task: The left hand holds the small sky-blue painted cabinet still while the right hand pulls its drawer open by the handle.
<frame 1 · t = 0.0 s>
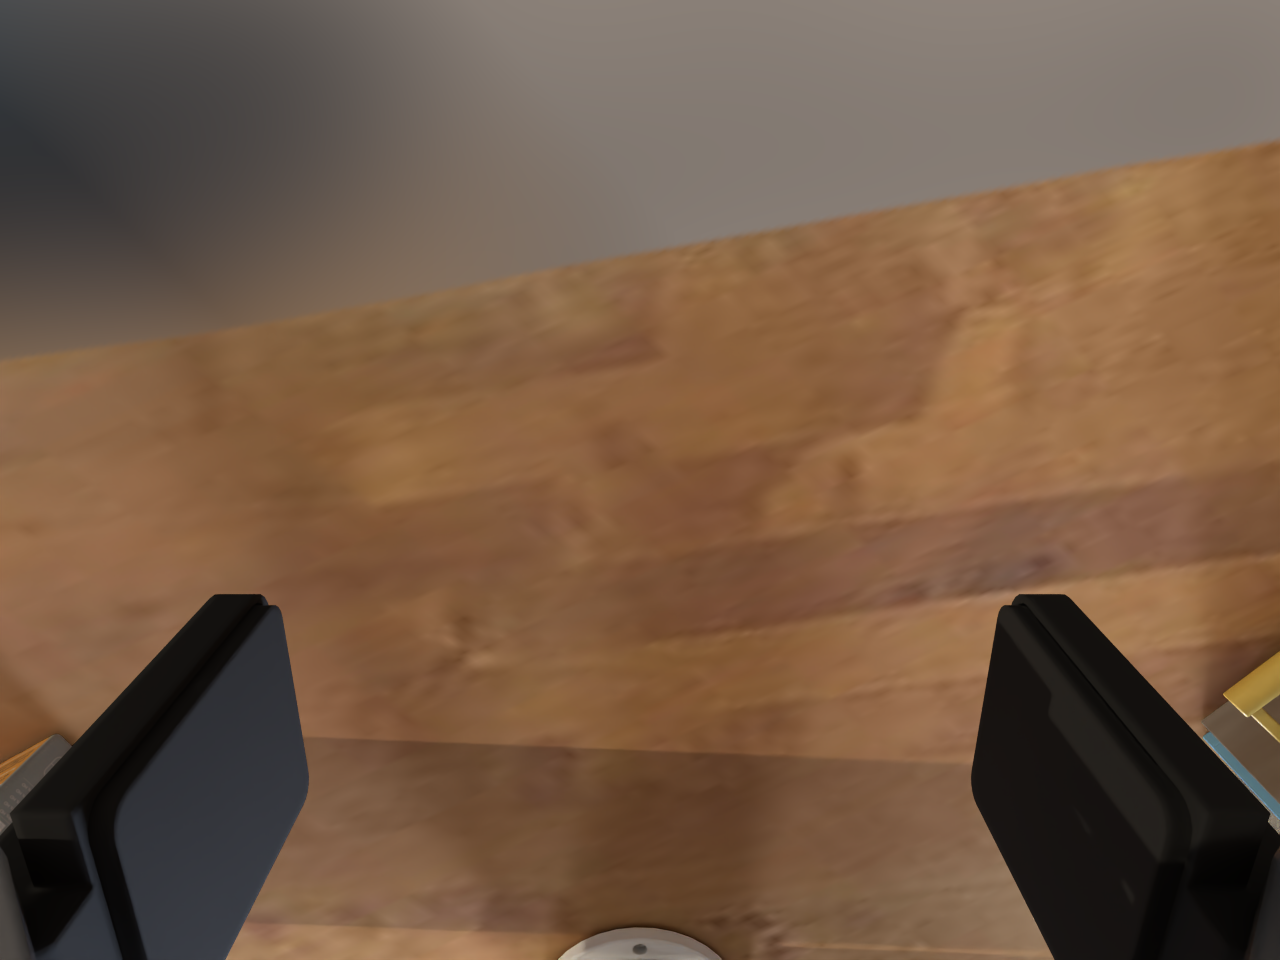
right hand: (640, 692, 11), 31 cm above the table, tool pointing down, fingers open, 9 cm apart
hard drive box: (10, 825, 52), on the table
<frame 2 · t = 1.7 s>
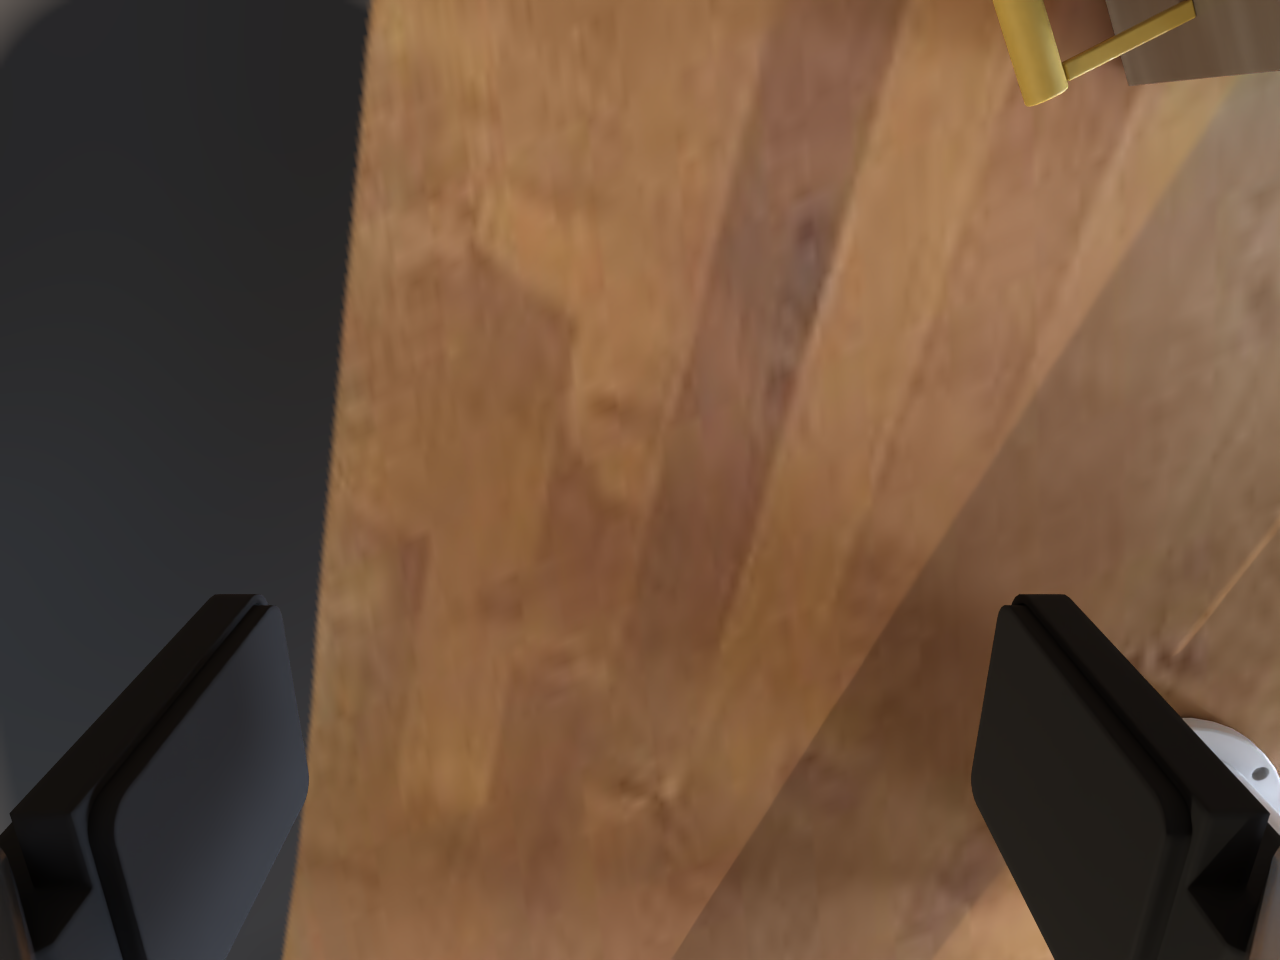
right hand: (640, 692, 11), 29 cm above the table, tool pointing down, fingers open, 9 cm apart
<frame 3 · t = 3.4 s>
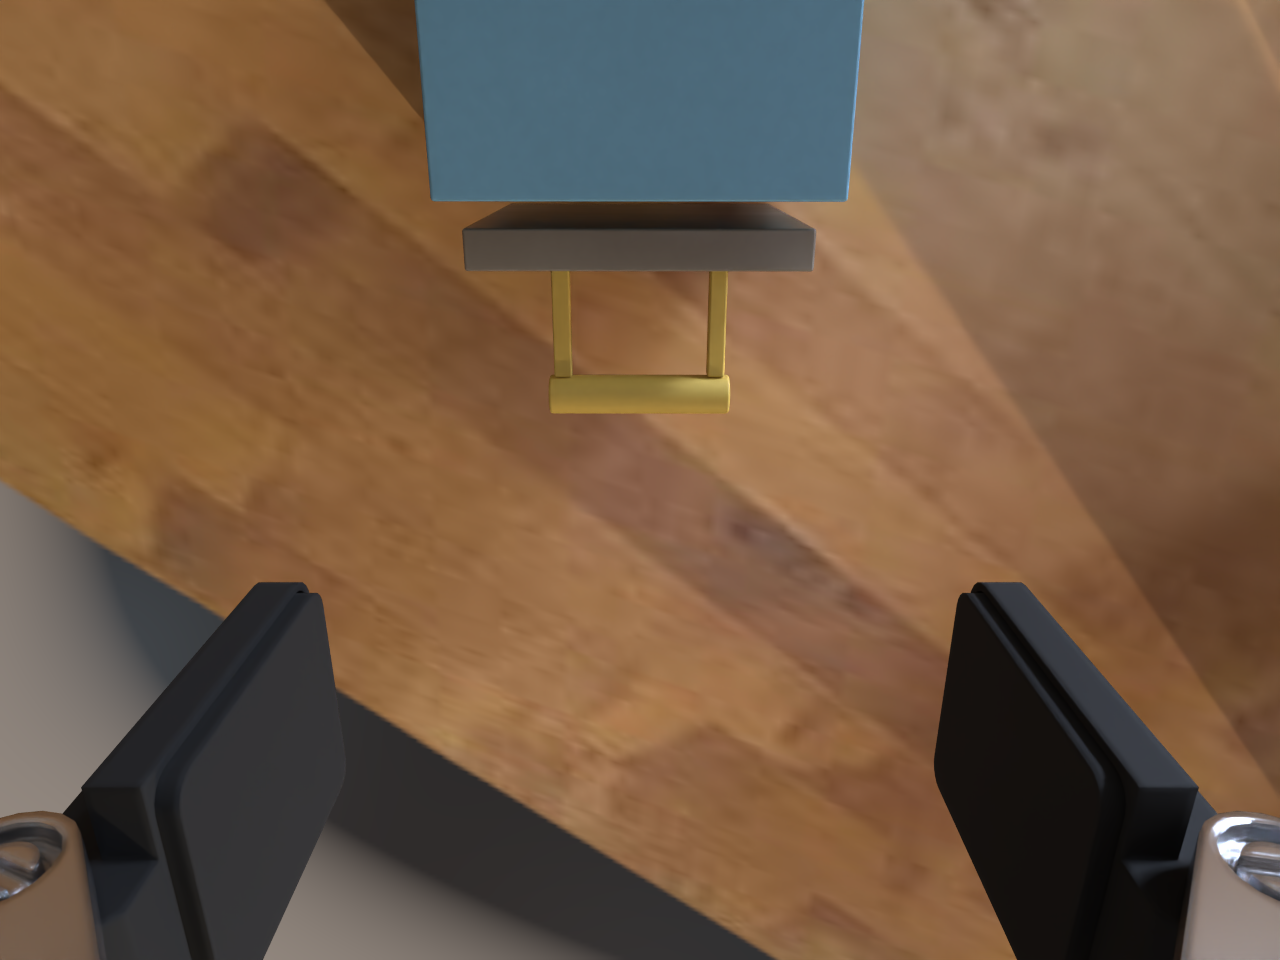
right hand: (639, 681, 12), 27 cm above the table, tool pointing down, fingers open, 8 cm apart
drawer: (639, 120, 29), point 6 cm above the table, slide at 0.8 cm
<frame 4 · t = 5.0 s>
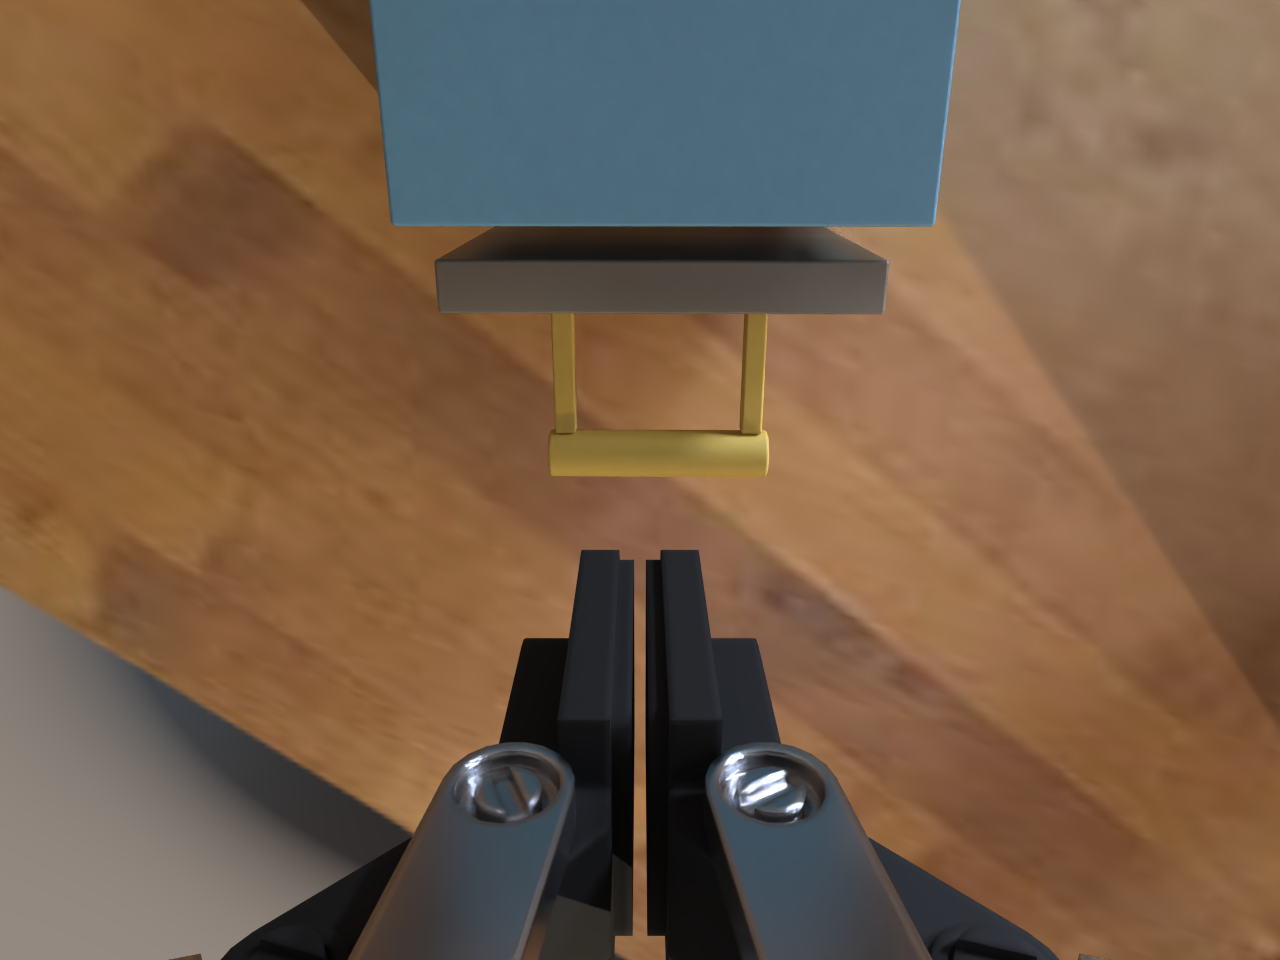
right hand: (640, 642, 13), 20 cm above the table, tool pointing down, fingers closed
drawer: (660, 121, 23), point 6 cm above the table, slide at 0.8 cm
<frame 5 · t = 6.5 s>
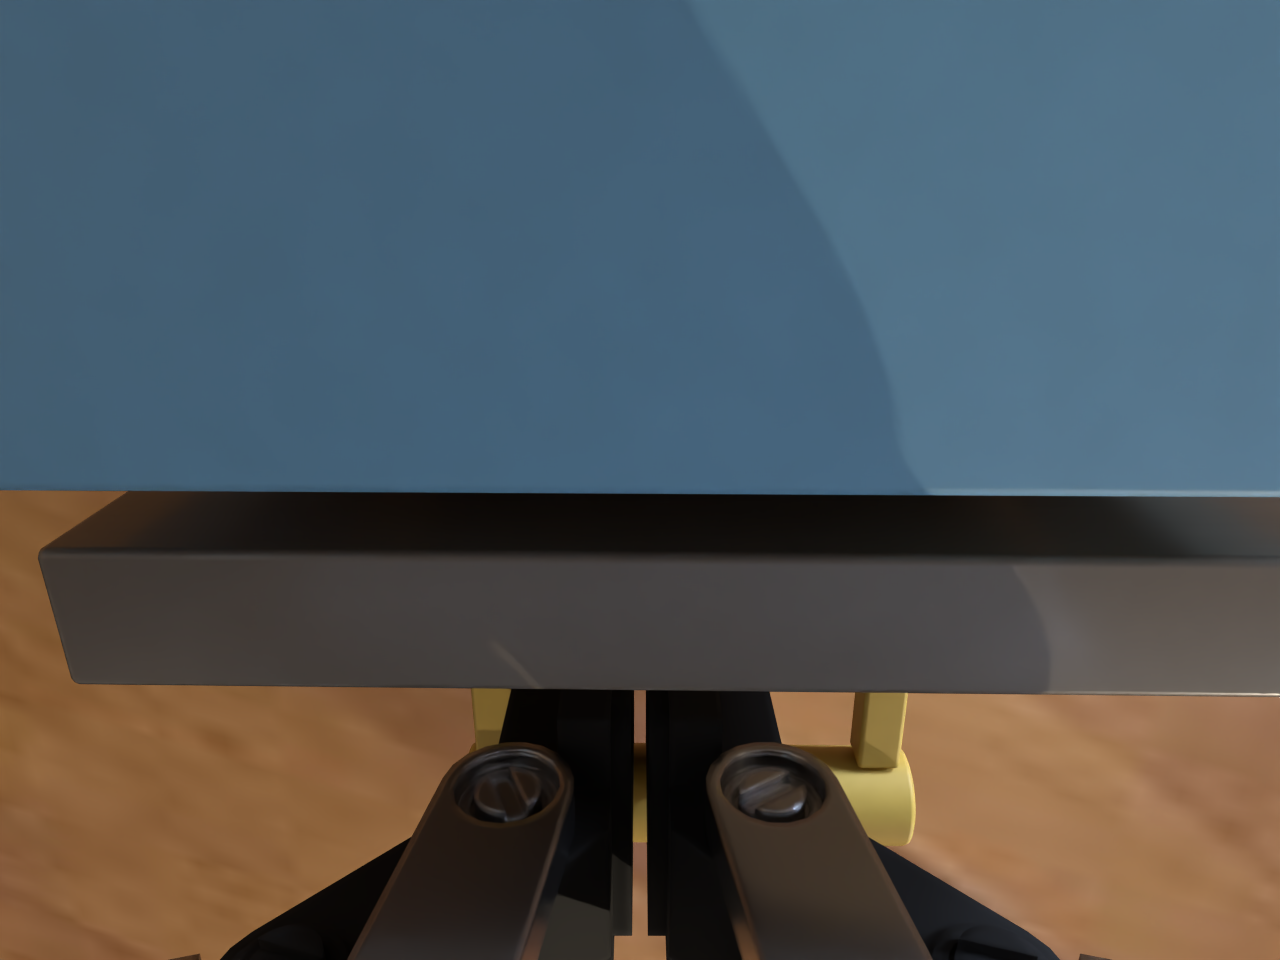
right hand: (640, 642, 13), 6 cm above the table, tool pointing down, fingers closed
drawer: (697, 130, 10), point 6 cm above the table, slide at 0.9 cm, touching right hand
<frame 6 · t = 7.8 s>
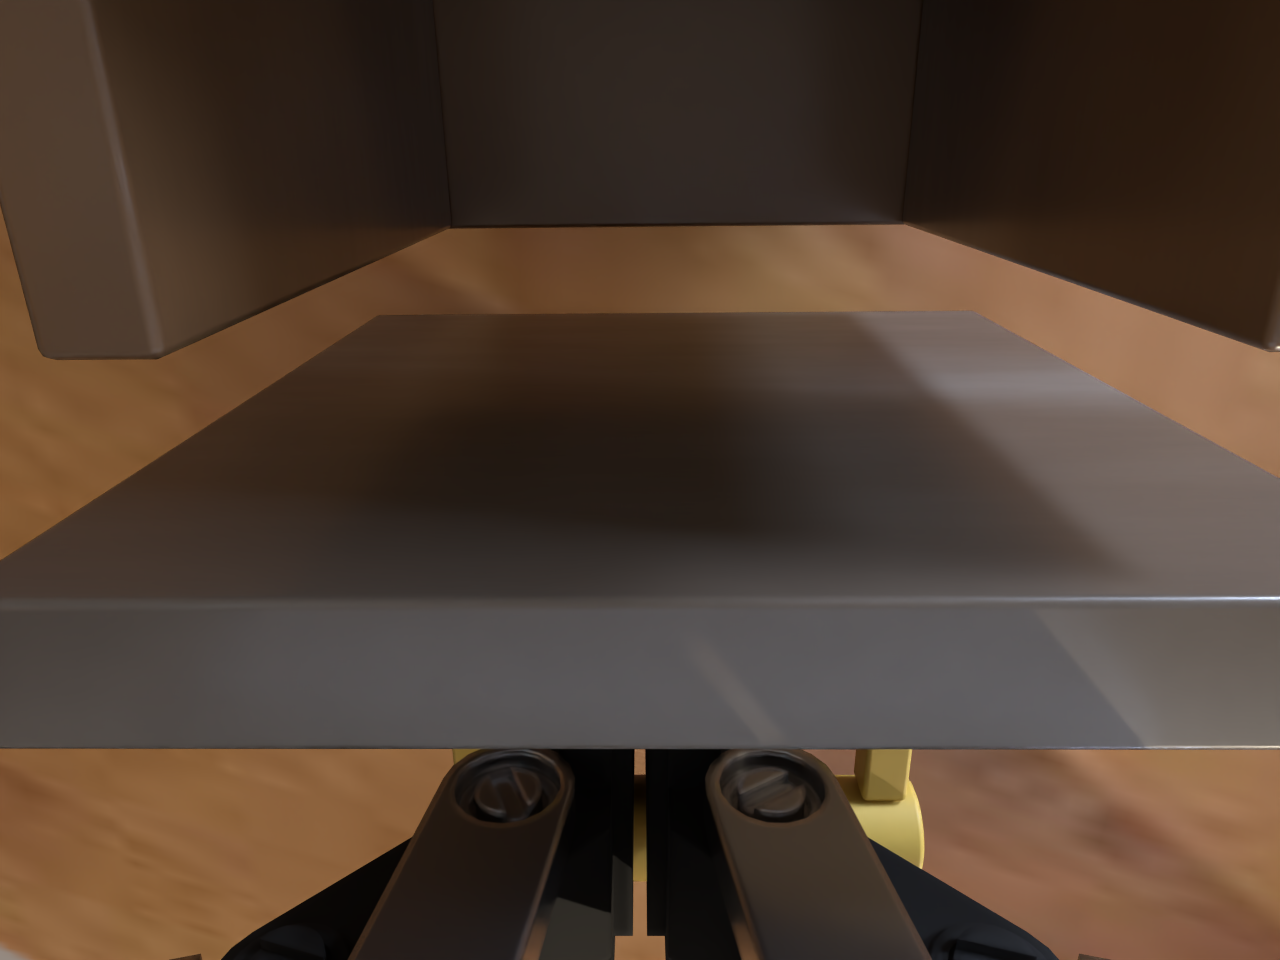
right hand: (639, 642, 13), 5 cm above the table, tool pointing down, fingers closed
drawer: (684, 121, 9), point 6 cm above the table, slide at 6.7 cm, touching right hand
when the left hand's fingers open (7 cm above the table, at t = 9.4 s): cabinet stays where it is, on the table.
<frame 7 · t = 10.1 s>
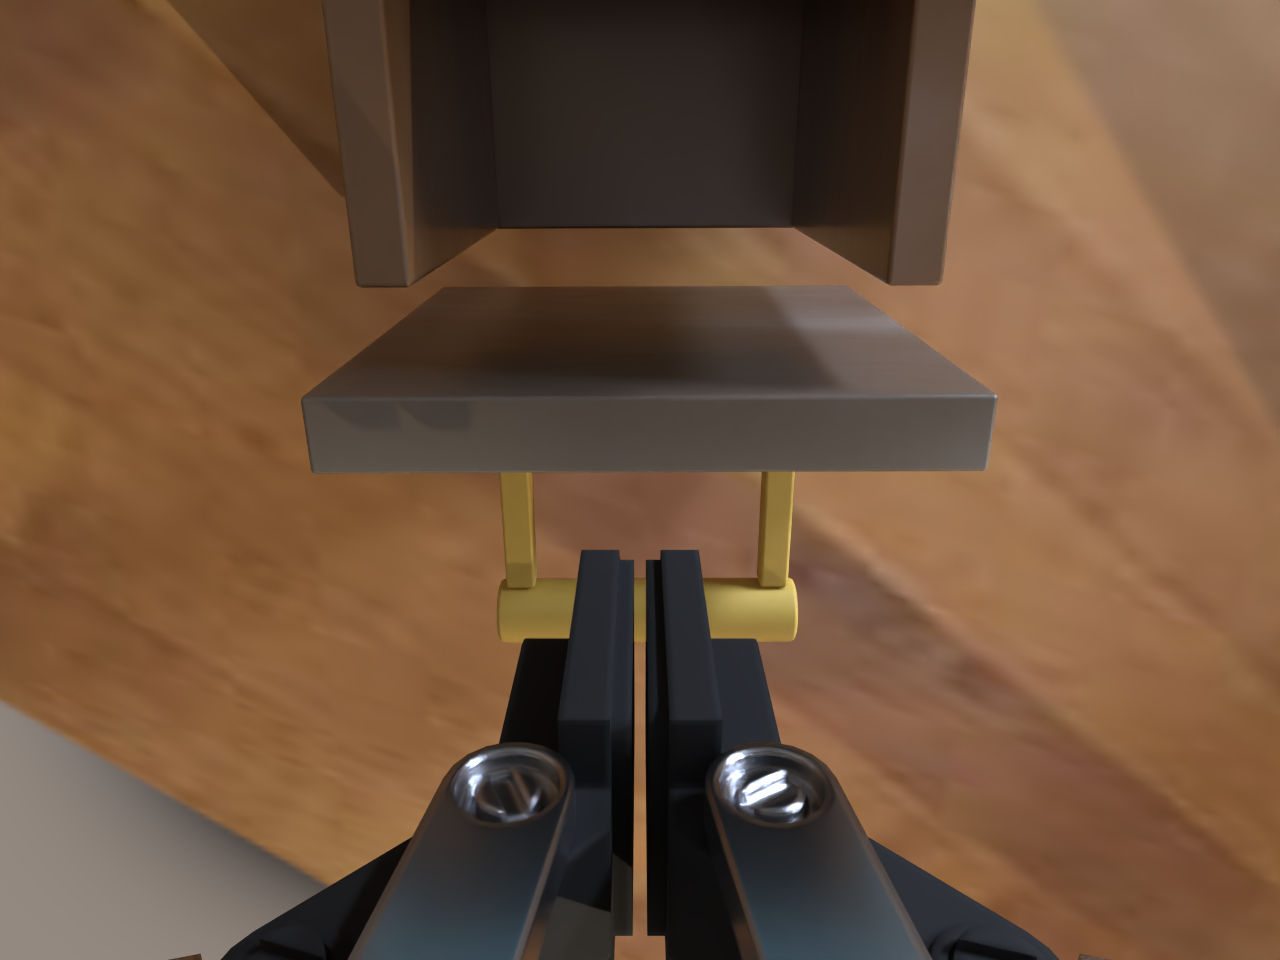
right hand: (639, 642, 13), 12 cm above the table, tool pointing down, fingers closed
drawer: (646, 169, 16), point 6 cm above the table, slide at 6.6 cm
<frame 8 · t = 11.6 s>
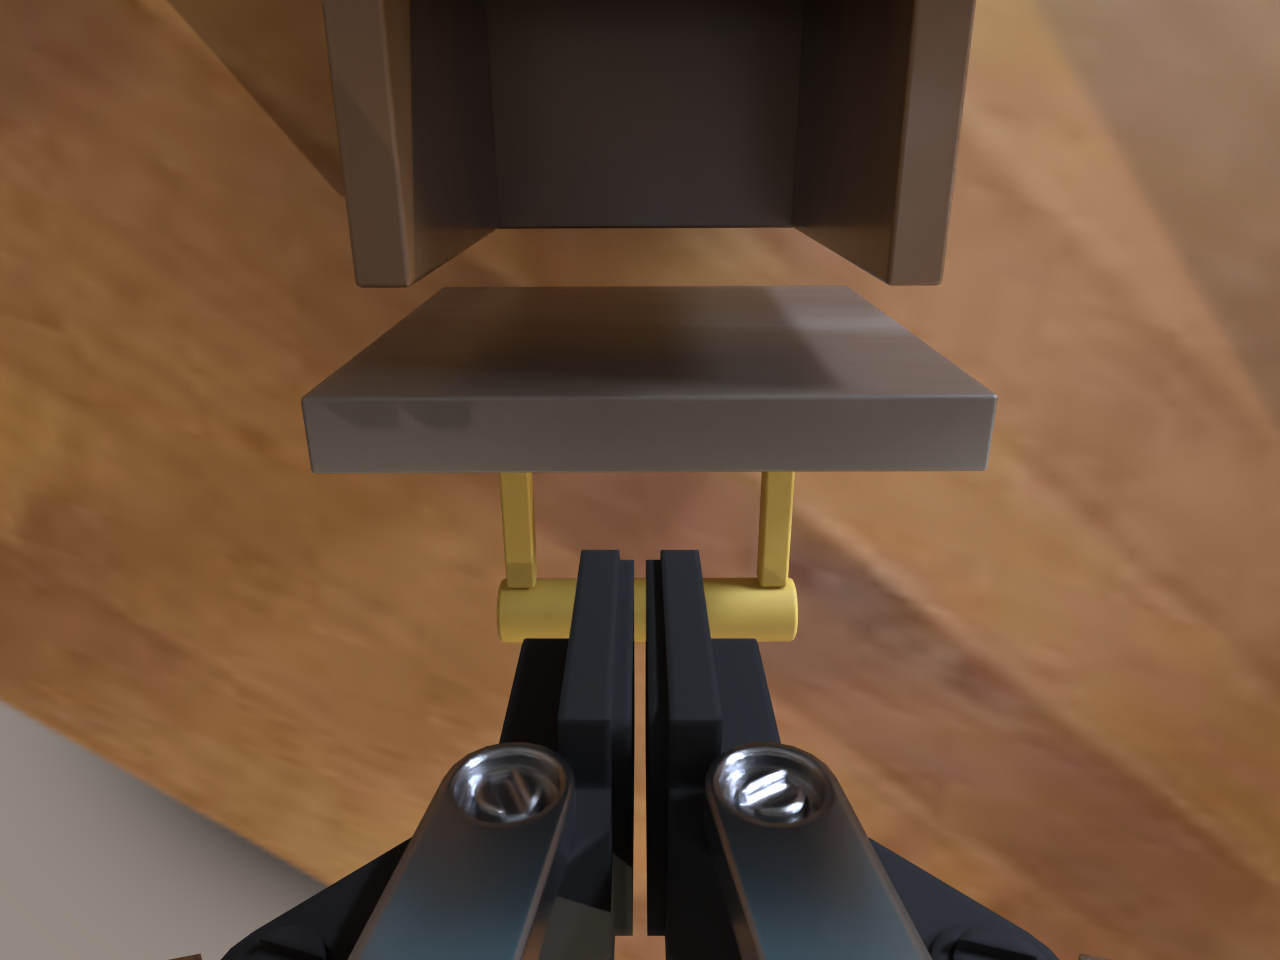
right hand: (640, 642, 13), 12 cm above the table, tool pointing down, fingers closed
drawer: (646, 169, 16), point 6 cm above the table, slide at 6.6 cm
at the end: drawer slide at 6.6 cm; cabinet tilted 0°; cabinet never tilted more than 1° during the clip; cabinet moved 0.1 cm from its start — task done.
